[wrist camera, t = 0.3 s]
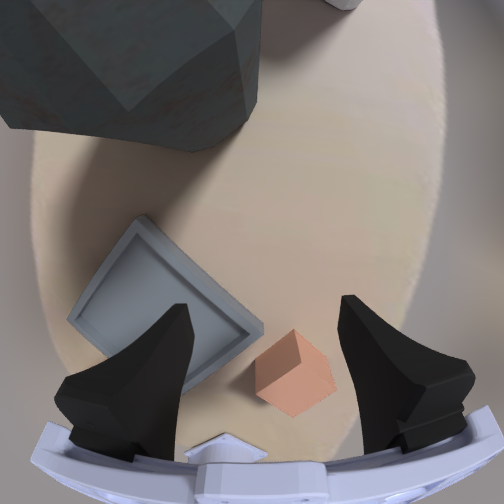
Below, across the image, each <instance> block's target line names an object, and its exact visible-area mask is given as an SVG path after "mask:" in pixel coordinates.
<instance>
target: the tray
mask: <svg viewBox="0 0 504 504" xmlns="http://www.w3.org/2000/svg"><path fill="white" fill-rule="evenodd" d="M175 303H187V306H188V310H189V314H190V318H191V322H192V326H193V330H194V334H195V339H194V347H193V353H192V357H191V360H190V364H189V367H188V371H187V374H186V378H185V381H184V384H183V388H182V392H181V395H183V394H184V393H185V392H187V391H188V390H190V389H191V388H193V387H194V386H196V385H197V384H198V383H200V382H201V381H203V380H204V379H205V378H207V377H208V376H210V375H211V374H212V373H214V372H215V371H217V370H218V369H219V368H221V367H222V366H223V365H225V364H226V363H227V362H229V361H230V360H231V359H233V358H234V357H235V356H237V355H238V354H239V353H241V352H242V351H243V350H245V349H246V348H247V347H249V346H250V345H251V344H252V343H254V342H255V341H256V340H258V339H259V338H260V337H261V336H263V335H264V326H263V322H261V321H260V320H259V319H258V318H257V317H255V316H254V315H253V314H252V313H251V312H250V311H249V310H247V309H246V308H245V307H244V306H243V305H242V304H240V303H239V302H238V301H237V300H236V299H235V298H234V297H233V296H231V295H230V294H229V293H228V292H227V291H226V290H225V289H224V288H222V287H221V286H220V285H219V284H218V283H217V282H216V281H215V280H213V279H212V278H211V277H210V276H209V275H208V274H207V273H206V272H205V271H204V270H202V269H201V268H200V267H199V266H198V265H197V264H196V263H195V262H194V261H193V260H192V259H191V258H189V257H188V256H187V255H186V254H185V253H184V252H183V251H182V250H181V249H180V248H179V247H178V246H177V245H176V244H175V243H173V242H172V241H171V240H170V239H169V238H168V237H167V236H166V235H165V234H164V233H163V232H162V231H161V230H160V229H159V228H158V227H157V226H156V225H155V224H154V223H153V222H152V221H151V220H150V219H149V218H147V217H146V216H145V215H144V214H143V215H141V216H139V217H137V218H135V220H134V221H133V222H132V223H131V225H130V226H129V227H128V229H127V230H126V231H125V233H124V234H123V235H122V237H121V238H120V239H119V241H118V242H117V243H116V245H115V246H114V247H113V249H112V250H111V252H110V253H109V254H108V256H107V257H106V259H105V260H104V262H103V263H102V264H101V266H100V267H99V269H98V270H97V272H96V273H95V275H94V276H93V278H92V279H91V281H90V282H89V284H88V285H87V287H86V288H85V290H84V292H83V293H82V295H81V296H80V298H79V299H78V301H77V303H76V304H75V306H74V308H73V309H72V311H71V313H70V314H69V316H68V318H67V319H66V320H67V321H68V322H69V323H70V324H71V325H72V326H73V327H75V328H76V329H77V330H78V331H79V332H80V333H81V334H82V335H83V336H84V337H85V338H86V339H87V340H88V341H89V342H91V343H92V344H93V345H94V346H95V347H96V348H97V349H98V350H100V351H101V352H102V353H103V354H104V355H105V356H106V357H108V358H110V357H112V356H114V355H115V354H117V353H119V352H120V351H122V350H123V349H124V348H126V347H127V346H129V345H130V344H131V343H133V342H134V341H135V340H136V339H138V338H139V337H140V336H141V335H142V334H143V333H144V332H146V331H147V330H148V329H149V328H150V327H151V326H152V325H153V324H154V323H155V322H156V321H157V320H158V319H159V318H160V317H161V316H162V315H163V314H164V313H165V312H166V311H167V310H168V309H169V308H170V307H171V306H173V305H174V304H175Z"/></svg>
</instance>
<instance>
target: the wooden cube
mask: <svg viewBox="0 0 504 504" xmlns="http://www.w3.org/2000/svg"><path fill="white" fill-rule="evenodd" d="M336 390H337V388H336V385H335V382H334V379H333V376H332V373H331V370H330V367H329V364H328V361H327V358H326V356H325V355H323V354H322V353H321V352H320V351H319V350H318V349H316V348H315V347H314V346H313V345H312V344H311V343H310V342H308V341H307V340H306V339H305V338H304V337H303V336H301V335H300V334H299V333H298V332H297V331H296V330H295V329H293V330H292V331H291V332H290V333H288V334H287V335H286V336H285V337H283V338H282V339H281V340H279V341H278V342H277V343H276V344H274V345H273V346H272V347H270V348H269V349H268V350H266V351H265V352H264V353H262V354H261V355H260V356H258V357H257V358H256V359H255V394H256V395H257V396H259V397H260V398H262V399H264V400H265V401H267V402H268V403H270V404H272V405H273V406H275V407H276V408H278V409H280V410H281V411H283V412H285V413H286V414H288V415H290V416H291V417H295V416H297V415H298V414H300V413H302V412H303V411H305V410H307V409H308V408H310V407H312V406H313V405H315V404H316V403H318V402H320V401H321V400H323V399H324V398H326V397H327V396H329V395H330V394H332V393H333V392H335V391H336Z"/></svg>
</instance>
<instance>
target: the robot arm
mask: <svg viewBox="0 0 504 504" xmlns="http://www.w3.org/2000/svg"><path fill="white" fill-rule="evenodd" d="M337 330H338V335H339V340H340V345H341V348H342V351H343V354H344V357H345V360H346V363H347V366H348V369H349V372H350V375H351V377H352V380H353V383H354V387H355V391H356V396H357V401H358V406H359V412H360V419H361V426H362V435H363V445H364V455H362V456H358V457H353V458H348V459H342V460H336V461H329V462H316V461H312V460H309V461H285V462H260V463H254V462H255V461H257V460H259V459H262V458H264V457H266V456H268V453H267V452H264V451H262V450H260V449H258V448H256V447H254V446H252V445H249V444H247V443H245V442H243V441H241V440H239V439H237V438H235V437H233V436H232V435H230V434H227V433H224V434H222V435H220V436H218V437H216V438H214V439H212V440H210V441H207V442H205V443H203V444H201V445H199V446H197V447H194V448H192V449H190V450H187V451H185V452H184V455H186V456H188V457H189V458H188V463H181V462H174V449H175V435H176V424H177V416H178V409H179V402H180V396H181V392H182V388H183V384H184V381H185V378H186V374H187V371H188V367H189V364H190V360H191V357H192V353H193V347H194V339H195V334H194V330H193V326H192V322H191V318H190V314H189V310H188V306H187V303H175V304H174V305H173V306H171V307H170V308H169V309H168V310H167V311H166V312H165V313H164V314H163V315H162V316H161V317H160V318H159V319H158V320H157V321H156V322H155V323H154V324H153V325H152V326H151V327H150V328H149V329H148V330H147V331H146V332H144V333H143V334H142V335H141V336H140V337H139V338H138V339H136V340H135V341H134V342H133V343H131V344H130V345H129V346H127V347H126V348H124V349H123V350H122V351H120V352H119V353H117V354H115V355H114V356H112V357H110V358H109V359H107V360H105V361H103V362H102V363H100V364H98V365H96V366H93V367H91V368H89V369H87V370H84V371H82V372H79V373H76V374H73V375H70V376H67V377H66V378H65V379H64V381H63V383H62V384H61V386H60V388H59V390H58V392H57V393H56V395H55V397H54V401H55V403H56V405H57V407H58V408H59V410H60V411H61V412H62V413H63V414H64V416H65V417H66V418H67V419H68V420H69V421H70V422H71V423H72V424H73V425H74V427H73V429H72V431H71V430H69V429H68V428H66V427H64V426H61V425H59V424H56V423H53V422H51V421H48V422H47V424H46V427H45V428H44V431H43V433H42V435H41V437H40V439H39V441H38V443H37V446H36V448H35V450H34V452H33V455H32V457H31V459H30V461H31V462H32V463H33V464H35V465H36V466H37V467H38V468H40V469H41V470H43V471H44V472H45V473H47V474H48V475H50V476H51V477H53V478H54V479H55V480H57V481H59V482H60V483H61V484H63V485H66V486H68V487H70V488H72V489H74V490H76V491H79V492H81V493H83V494H85V495H87V496H90V497H92V498H95V499H97V500H99V501H102V502H105V503H107V504H410V503H412V502H415V501H417V500H420V499H422V498H424V497H427V496H429V495H431V494H433V493H435V492H438V491H440V490H442V489H444V488H446V487H448V486H450V485H452V484H454V483H456V482H458V481H460V480H462V479H463V478H465V477H467V476H469V475H471V474H472V473H474V472H476V471H477V470H479V469H480V468H482V467H483V466H484V465H485V464H487V463H488V462H489V461H490V460H492V459H493V458H494V457H495V456H496V455H498V454H499V453H500V452H501V451H502V450H503V449H504V437H503V435H502V433H501V430H500V428H499V426H498V424H497V422H496V420H495V418H494V416H493V414H492V412H491V410H490V408H489V406H488V405H485V406H483V407H481V408H479V409H477V410H475V411H473V412H471V413H469V414H468V415H467V416H465V417H464V416H463V414H462V412H463V411H464V406H463V404H462V402H463V400H464V399H465V397H466V396H467V395H468V393H469V392H470V390H471V389H472V387H473V385H474V382H475V374H474V373H473V371H472V369H471V368H470V366H469V365H468V363H467V362H466V361H465V360H461V359H458V358H454V357H450V356H447V355H445V354H442V353H439V352H437V351H434V350H432V349H430V348H427V347H425V346H423V345H421V344H419V343H417V342H416V341H414V340H412V339H410V338H409V337H407V336H405V335H404V334H402V333H401V332H399V331H398V330H396V329H395V328H393V327H392V326H391V325H389V324H388V323H387V322H386V321H384V320H383V319H382V318H381V317H379V316H378V315H377V314H376V313H375V312H373V311H372V310H371V309H370V308H369V307H368V306H367V305H365V304H364V303H363V302H362V301H361V300H360V299H359V298H358V297H356V296H355V295H344V296H342V298H341V306H340V314H339V321H338V328H337Z"/></svg>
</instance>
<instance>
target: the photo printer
mask: <svg viewBox="0 0 504 504" xmlns="http://www.w3.org/2000/svg"><path fill="white" fill-rule="evenodd" d="M325 1H326V2H328V3H330V4H331V5H333V6H335V7H337V8H338V9H341V10H350V9H354V8H356V7H357V6H359V4H360V3H361V2H362V1H363V0H325Z"/></svg>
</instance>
